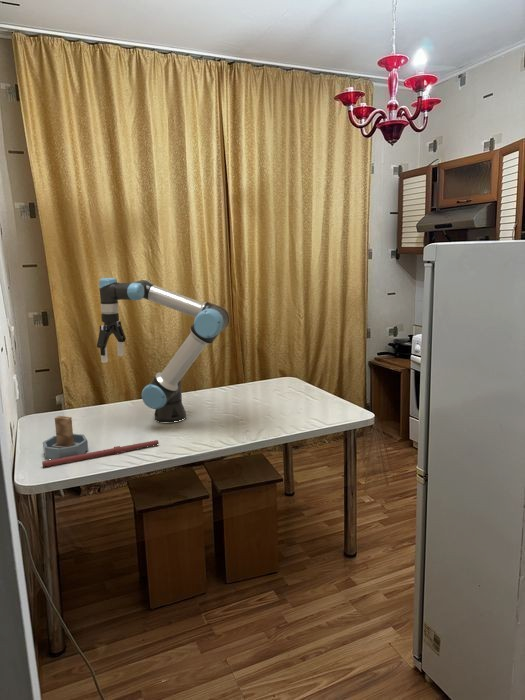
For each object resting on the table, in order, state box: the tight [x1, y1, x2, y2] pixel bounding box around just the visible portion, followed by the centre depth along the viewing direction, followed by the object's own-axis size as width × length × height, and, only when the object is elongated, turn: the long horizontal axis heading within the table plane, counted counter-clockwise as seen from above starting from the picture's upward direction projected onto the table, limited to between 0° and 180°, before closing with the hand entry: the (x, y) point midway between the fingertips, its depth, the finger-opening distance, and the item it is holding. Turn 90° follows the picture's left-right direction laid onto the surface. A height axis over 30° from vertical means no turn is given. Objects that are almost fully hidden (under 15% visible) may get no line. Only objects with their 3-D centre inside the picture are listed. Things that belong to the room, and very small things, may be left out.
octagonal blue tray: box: [42, 433, 89, 460], centre depth 207 cm, size 16×16×5 cm
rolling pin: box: [41, 439, 160, 468], centre depth 204 cm, size 45×3×3 cm, turn 118°
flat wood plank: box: [54, 415, 74, 447], centre depth 206 cm, size 6×2×14 cm, turn 75°
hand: (112, 359), depth 232 cm, fingers open, 13 cm apart
